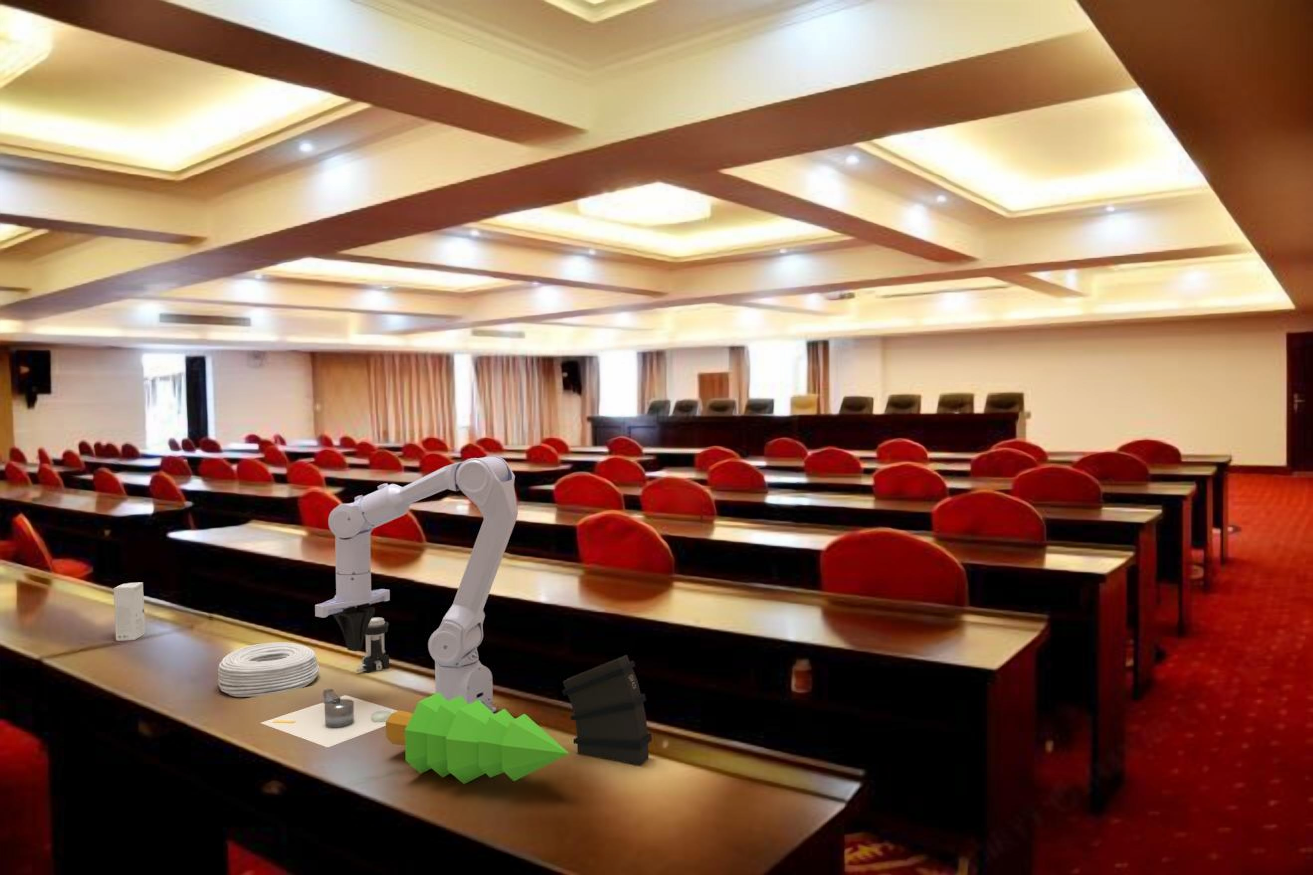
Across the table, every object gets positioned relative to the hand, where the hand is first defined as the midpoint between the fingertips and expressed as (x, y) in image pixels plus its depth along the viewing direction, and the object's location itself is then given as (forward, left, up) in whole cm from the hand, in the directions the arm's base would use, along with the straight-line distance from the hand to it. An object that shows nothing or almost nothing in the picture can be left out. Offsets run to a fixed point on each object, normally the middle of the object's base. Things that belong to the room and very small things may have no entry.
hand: (354, 649), depth 148 cm
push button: (+15, -15, -10) cm, 24 cm away
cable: (+25, +1, -10) cm, 27 cm away
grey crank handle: (-5, +7, -9) cm, 12 cm away
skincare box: (+82, 0, -10) cm, 83 cm away
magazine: (-49, -8, -10) cm, 51 cm away
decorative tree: (-39, +9, -10) cm, 41 cm away
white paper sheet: (-5, +7, -10) cm, 13 cm away
